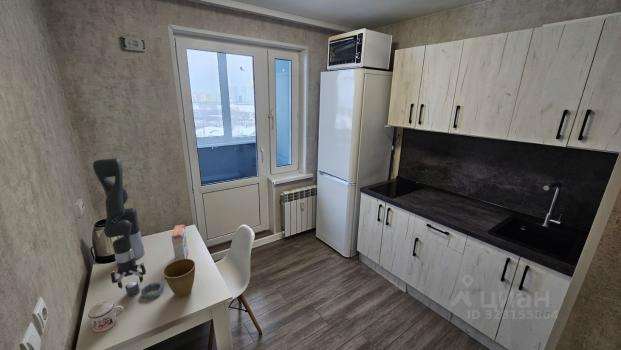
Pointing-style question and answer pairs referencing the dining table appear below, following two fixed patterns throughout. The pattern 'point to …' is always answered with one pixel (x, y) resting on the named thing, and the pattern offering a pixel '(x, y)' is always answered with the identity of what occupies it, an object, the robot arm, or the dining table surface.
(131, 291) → the cap
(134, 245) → the robot arm
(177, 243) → the cracker box
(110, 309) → the teacup with lid
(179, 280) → the plant pot
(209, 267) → the dining table surface
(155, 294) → the faceted grey ring
